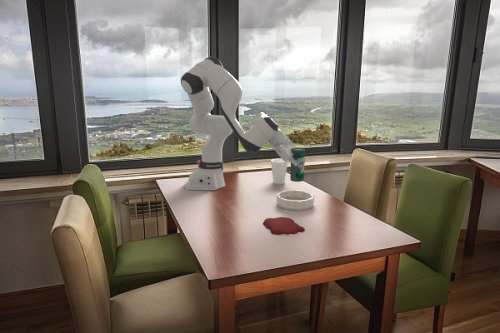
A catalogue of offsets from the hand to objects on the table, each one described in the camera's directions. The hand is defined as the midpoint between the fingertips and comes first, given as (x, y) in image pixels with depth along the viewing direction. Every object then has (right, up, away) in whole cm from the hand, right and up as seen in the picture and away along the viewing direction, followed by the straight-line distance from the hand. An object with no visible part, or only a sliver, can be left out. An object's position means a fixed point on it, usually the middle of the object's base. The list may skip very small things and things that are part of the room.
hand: (298, 163), depth 176 cm
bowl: (-2, -19, +2) cm, 20 cm away
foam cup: (-6, -11, +39) cm, 41 cm away
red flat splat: (-10, -26, -24) cm, 37 cm away
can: (-1, -8, +2) cm, 8 cm away
